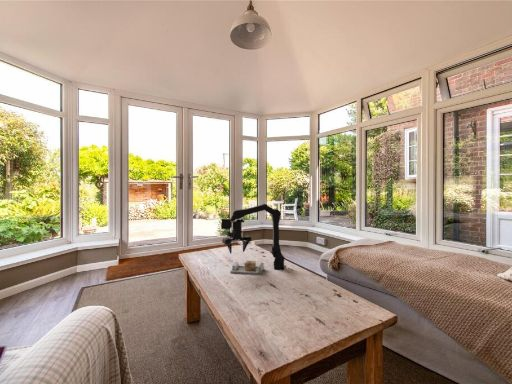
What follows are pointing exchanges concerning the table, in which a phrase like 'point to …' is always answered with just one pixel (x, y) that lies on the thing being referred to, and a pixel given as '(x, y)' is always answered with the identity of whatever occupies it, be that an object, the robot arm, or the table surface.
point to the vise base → (241, 270)
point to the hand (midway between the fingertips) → (237, 252)
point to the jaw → (235, 266)
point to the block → (250, 265)
